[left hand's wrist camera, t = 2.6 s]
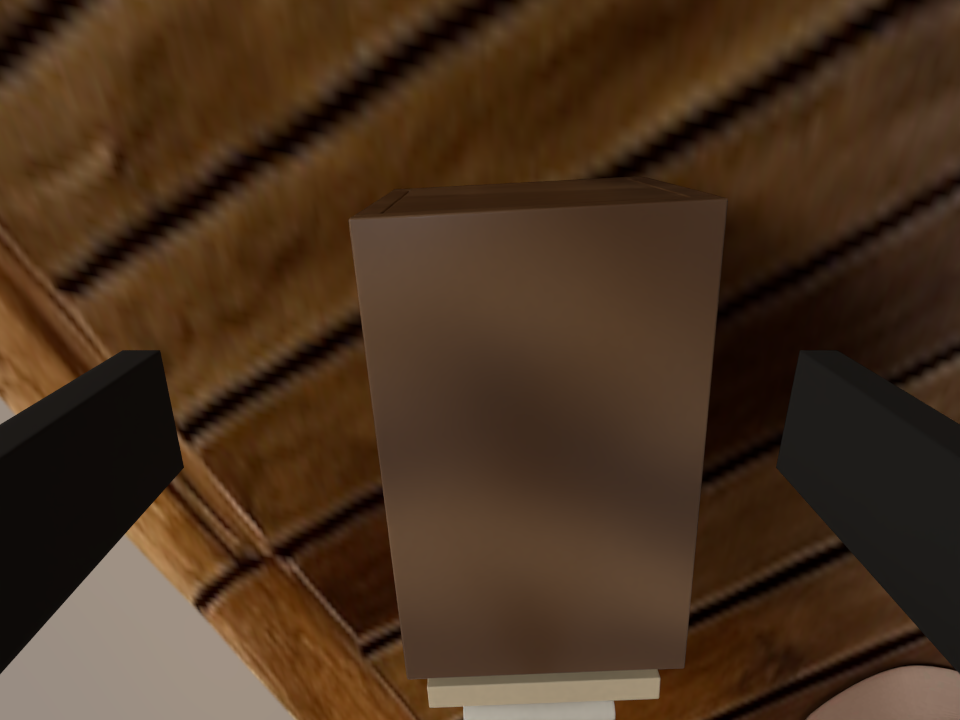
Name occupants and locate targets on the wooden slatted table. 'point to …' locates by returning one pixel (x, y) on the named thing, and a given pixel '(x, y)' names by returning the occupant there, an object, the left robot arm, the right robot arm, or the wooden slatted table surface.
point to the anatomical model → (898, 696)
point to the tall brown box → (541, 417)
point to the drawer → (543, 694)
